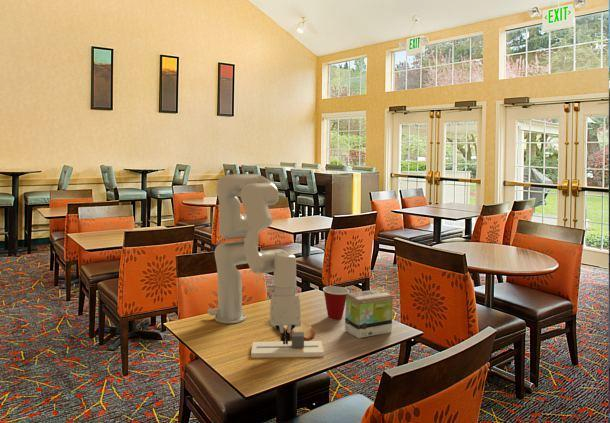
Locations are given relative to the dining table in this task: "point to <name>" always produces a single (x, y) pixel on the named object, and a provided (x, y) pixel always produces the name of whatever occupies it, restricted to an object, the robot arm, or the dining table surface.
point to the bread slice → (304, 328)
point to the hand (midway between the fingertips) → (285, 342)
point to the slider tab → (297, 339)
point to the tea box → (368, 313)
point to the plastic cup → (335, 301)
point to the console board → (286, 349)
